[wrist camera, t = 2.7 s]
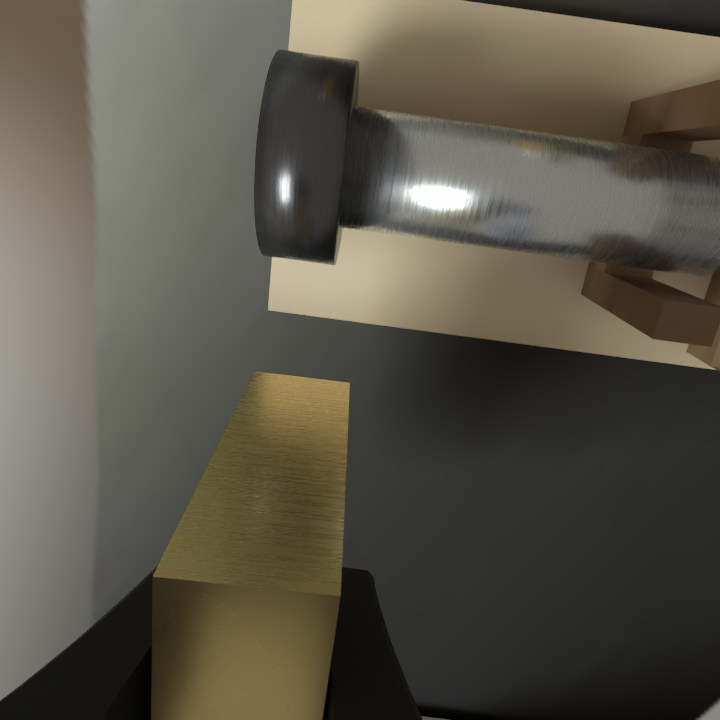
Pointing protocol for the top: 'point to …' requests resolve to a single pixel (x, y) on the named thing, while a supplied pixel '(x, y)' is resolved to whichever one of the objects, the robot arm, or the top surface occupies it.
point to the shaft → (466, 181)
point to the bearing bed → (527, 112)
